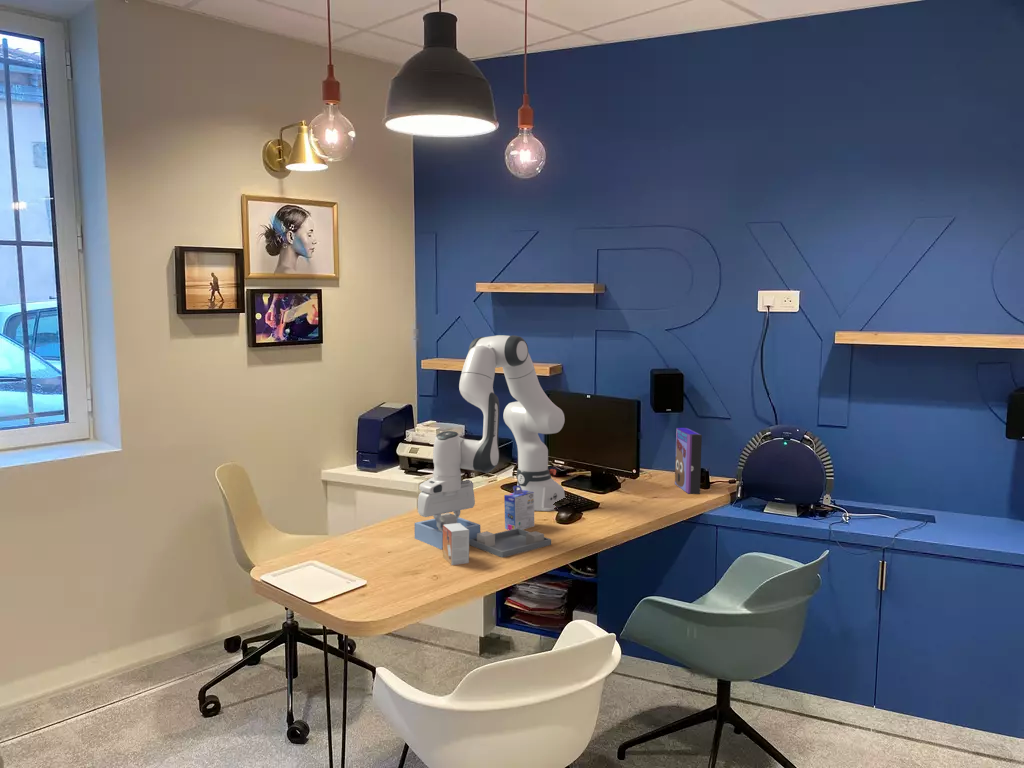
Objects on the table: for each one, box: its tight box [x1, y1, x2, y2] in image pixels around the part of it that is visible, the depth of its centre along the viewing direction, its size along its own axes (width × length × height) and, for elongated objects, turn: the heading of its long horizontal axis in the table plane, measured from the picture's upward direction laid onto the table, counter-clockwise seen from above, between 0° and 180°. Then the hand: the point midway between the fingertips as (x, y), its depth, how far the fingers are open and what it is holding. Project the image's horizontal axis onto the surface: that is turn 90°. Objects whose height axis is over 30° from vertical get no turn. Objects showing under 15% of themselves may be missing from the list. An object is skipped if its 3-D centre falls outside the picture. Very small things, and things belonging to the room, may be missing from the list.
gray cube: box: [526, 530, 545, 545], centre depth 253 cm, size 4×4×4 cm
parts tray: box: [469, 528, 552, 559], centre depth 253 cm, size 20×16×2 cm
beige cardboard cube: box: [438, 512, 456, 532], centre depth 257 cm, size 4×4×5 cm
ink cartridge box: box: [503, 485, 535, 531], centre depth 272 cm, size 10×6×14 cm, turn 137°
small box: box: [442, 523, 470, 567], centre depth 238 cm, size 8×6×10 cm
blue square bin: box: [414, 516, 481, 551], centre depth 258 cm, size 15×15×6 cm
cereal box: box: [674, 427, 703, 495], centre depth 330 cm, size 17×5×24 cm, turn 6°
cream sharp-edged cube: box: [477, 531, 495, 546], centre depth 253 cm, size 4×4×4 cm
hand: (446, 525), depth 258 cm, fingers closed on beige cardboard cube, 4 cm apart
